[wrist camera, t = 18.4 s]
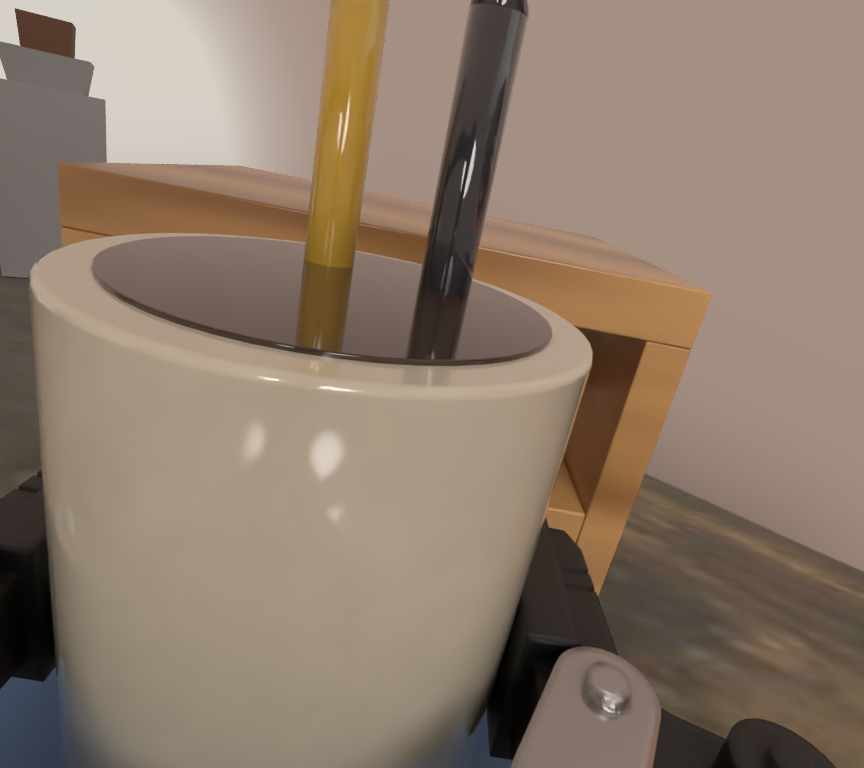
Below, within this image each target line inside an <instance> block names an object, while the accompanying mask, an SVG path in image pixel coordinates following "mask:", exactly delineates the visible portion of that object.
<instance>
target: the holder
mask: <svg viewBox="0 0 864 768" xmlns="http://www.w3.org/2000/svg"><path fill="white" fill-rule="evenodd" d="M330 3H331V4H330V12H329V22H328V32H327V41H326V50H325V60H324V69H323V80H322V89H321V99H320V108H319V117H318V128H317V136H316V146H315V155H314V165H313V174H312V184H311V194H310V203H309V213H308V222H307V232H306V241H305V243H304V242H297V241H288V240H280V239H271V238H260V237H250V236H236V235H222V234H200V233H149V234H130V235H120V236H110V237H103V238H97V239H91V240H86V241H81V242H77V243H73V244H70V245H66V246H62V247H60V248H57V249H55V250H53V251H50V252H48V253H46V254H45V255H44V256H42V257H41V258H39V259H38V260H37V261H36V262H35V264H34V266H33V268H32V269H31V271H30V273H29V276H28V286H29V300H30V314H31V328H32V342H33V356H34V370H35V384H36V398H37V411H38V425H39V439H40V453H41V467H42V481H43V495H44V509H45V523H46V537H47V551H48V565H49V579H50V592H51V606H52V620H53V634H54V648H55V662H56V676H57V690H58V704H59V718H60V732H61V746H62V760H63V768H468V766H469V762H470V759H471V756H472V753H473V750H474V746H475V743H476V740H477V737H478V733H479V730H480V727H481V724H482V720H483V717H484V714H485V711H486V708H487V704H488V701H489V698H490V695H491V691H492V688H493V685H494V682H495V678H496V675H497V672H498V669H499V665H500V662H501V659H502V656H503V653H504V649H505V646H506V643H507V640H508V636H509V633H510V630H511V627H512V623H513V620H514V617H515V614H516V610H517V607H518V604H519V601H520V598H521V594H522V591H523V588H524V585H525V581H526V578H527V575H528V572H529V568H530V565H531V562H532V559H533V556H534V552H535V549H536V546H537V543H538V539H539V536H540V533H541V530H542V526H543V523H544V520H545V517H546V513H547V510H548V507H549V504H550V501H551V497H552V494H553V491H554V488H555V484H556V481H557V478H558V475H559V471H560V468H561V465H562V462H563V459H564V455H565V452H566V449H567V446H568V442H569V439H570V436H571V433H572V429H573V426H574V423H575V420H576V416H577V413H578V410H579V407H580V404H581V400H582V397H583V394H584V391H585V387H586V384H587V381H588V378H589V374H590V371H591V368H592V363H593V351H592V348H591V345H590V342H589V341H588V339H587V338H586V337H585V336H584V334H583V333H582V332H581V331H580V330H578V329H577V328H576V327H575V326H574V325H573V324H571V323H570V322H568V321H567V320H565V319H564V318H562V317H561V316H559V315H558V314H556V313H554V312H552V311H551V310H549V309H547V308H545V307H543V306H541V305H539V304H537V303H535V302H533V301H531V300H529V299H527V298H524V297H522V296H519V295H517V294H514V293H512V292H510V291H507V290H504V289H501V288H499V287H496V286H493V285H490V284H487V283H484V282H481V281H478V280H475V279H473V275H474V270H475V265H476V261H477V256H478V251H479V247H480V242H481V237H482V233H483V228H484V223H485V219H486V214H487V209H488V205H489V200H490V195H491V191H492V186H493V181H494V176H495V172H496V167H497V163H498V158H499V154H500V148H501V144H502V140H503V135H504V130H505V126H506V121H507V116H508V112H509V107H510V102H511V98H512V93H513V88H514V83H515V79H516V74H517V69H518V65H519V60H520V56H521V51H522V46H523V41H524V37H525V32H526V28H527V23H528V17H529V5H528V0H471V1H470V5H469V9H468V15H467V21H466V26H465V31H464V37H463V43H462V48H461V53H460V59H459V64H458V71H457V76H456V81H455V87H454V92H453V98H452V103H451V109H450V115H449V120H448V126H447V131H446V137H445V142H444V148H443V154H442V159H441V164H440V170H439V176H438V181H437V186H436V192H435V198H434V203H433V208H432V214H431V219H430V225H429V230H428V236H427V241H426V247H425V253H424V258H423V264H422V265H421V264H417V263H413V262H409V261H404V260H400V259H395V258H391V257H386V256H381V255H376V254H371V253H366V252H361V251H356V245H357V238H358V231H359V223H360V216H361V209H362V201H363V194H364V187H365V179H366V172H367V165H368V158H369V150H370V143H371V136H372V128H373V120H374V113H375V106H376V99H377V92H378V85H379V77H380V69H381V61H382V54H383V48H384V41H385V33H386V26H387V19H388V11H389V4H390V0H331V2H330Z"/></svg>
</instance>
